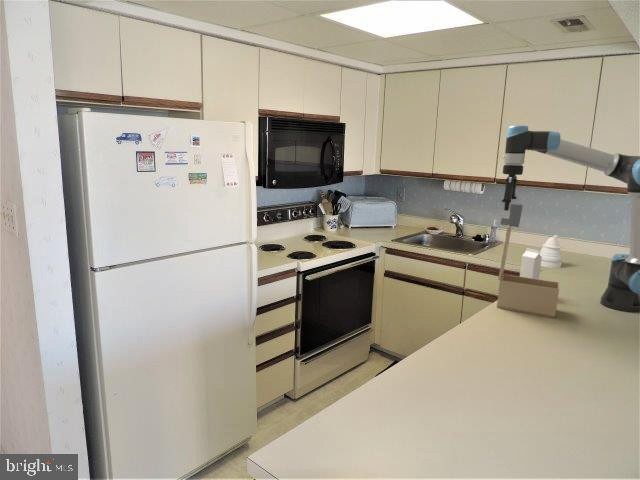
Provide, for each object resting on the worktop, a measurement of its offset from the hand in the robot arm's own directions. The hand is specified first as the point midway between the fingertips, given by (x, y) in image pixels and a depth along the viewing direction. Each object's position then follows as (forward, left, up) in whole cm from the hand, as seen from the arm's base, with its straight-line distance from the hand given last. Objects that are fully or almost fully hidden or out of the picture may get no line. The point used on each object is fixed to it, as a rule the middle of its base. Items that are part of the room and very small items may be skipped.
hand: (507, 216), depth 187 cm
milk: (-10, -19, -38) cm, 44 cm away
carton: (-12, 0, -38) cm, 40 cm away
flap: (-4, 0, -11) cm, 12 cm away
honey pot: (-18, -89, -38) cm, 99 cm away
